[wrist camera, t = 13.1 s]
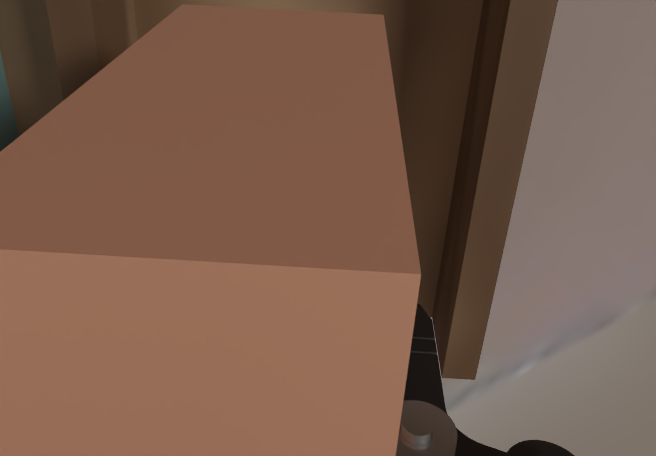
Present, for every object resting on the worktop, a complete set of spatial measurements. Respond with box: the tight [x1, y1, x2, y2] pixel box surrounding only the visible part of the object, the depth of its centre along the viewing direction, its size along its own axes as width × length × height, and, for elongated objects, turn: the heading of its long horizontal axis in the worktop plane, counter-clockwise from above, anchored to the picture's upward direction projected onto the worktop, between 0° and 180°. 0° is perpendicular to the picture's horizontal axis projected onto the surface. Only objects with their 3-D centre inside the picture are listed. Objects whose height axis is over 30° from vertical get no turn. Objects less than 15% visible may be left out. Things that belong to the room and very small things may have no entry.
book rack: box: [0, 0, 558, 380], centre depth 21 cm, size 26×15×5 cm, turn 88°
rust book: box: [0, 4, 421, 456], centre depth 12 cm, size 4×12×9 cm, turn 178°
